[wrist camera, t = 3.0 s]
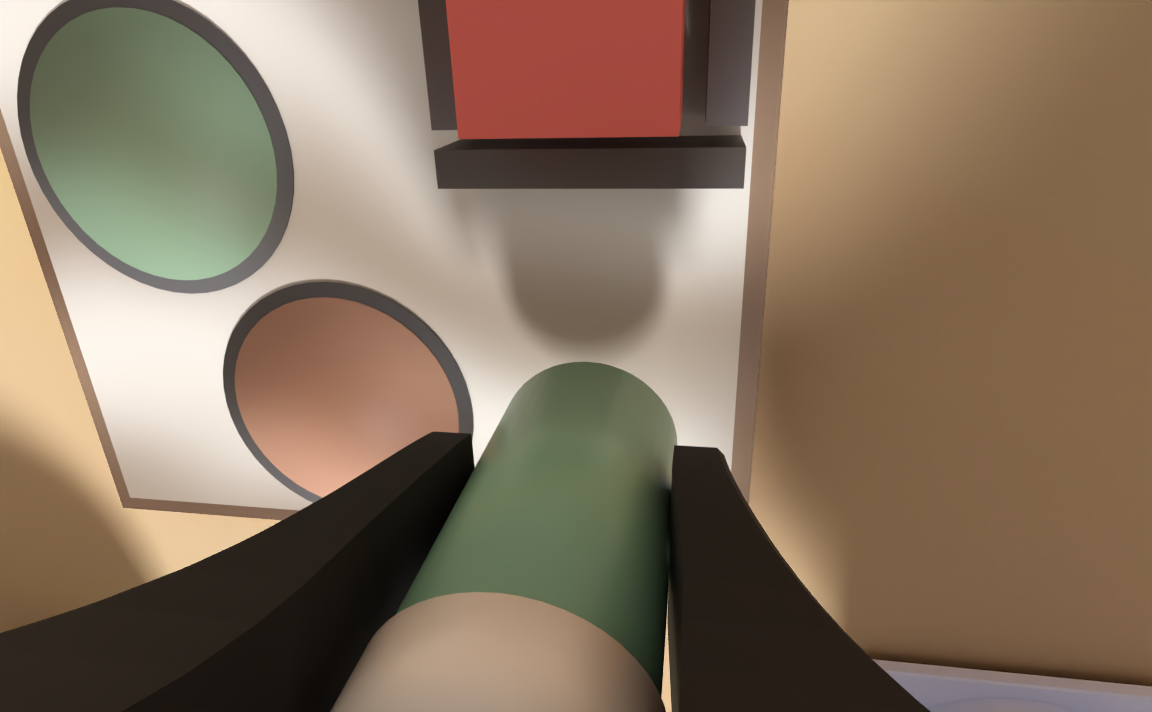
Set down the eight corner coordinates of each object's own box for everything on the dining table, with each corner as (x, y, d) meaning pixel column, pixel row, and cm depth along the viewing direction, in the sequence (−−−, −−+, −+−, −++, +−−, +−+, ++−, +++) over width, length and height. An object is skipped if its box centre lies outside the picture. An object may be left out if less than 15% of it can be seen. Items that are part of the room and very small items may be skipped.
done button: (682, 121, 11) (678, 136, 9) (493, 124, 11) (458, 138, 9) (688, -106, 10) (686, -138, 8) (478, -93, 10) (434, -120, 8)
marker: (680, 526, 13) (657, 1017, 6) (503, 513, 13) (316, 954, 7) (686, 359, 11) (663, 763, 5) (490, 352, 12) (244, 710, 5)
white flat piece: (741, 522, 16) (748, 610, 14) (156, 480, 19) (71, 549, 16) (793, -161, 11) (820, -221, 9) (-25, -100, 14) (-192, -132, 11)
